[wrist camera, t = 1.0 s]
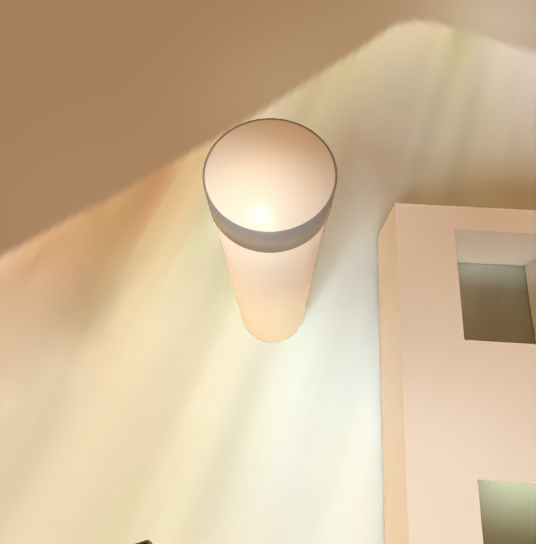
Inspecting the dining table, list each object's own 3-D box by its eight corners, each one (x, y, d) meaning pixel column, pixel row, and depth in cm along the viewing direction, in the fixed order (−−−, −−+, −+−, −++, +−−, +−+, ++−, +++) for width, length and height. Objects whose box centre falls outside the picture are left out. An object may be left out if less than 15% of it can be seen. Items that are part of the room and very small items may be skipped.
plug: (317, 314, 24) (365, 177, 11) (269, 356, 23) (263, 260, 11) (275, 269, 25) (275, 97, 12) (227, 308, 24) (175, 168, 12)
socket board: (650, 660, 18) (778, 736, 14) (387, 637, 19) (424, 703, 14) (570, 247, 25) (638, 204, 20) (377, 237, 26) (400, 192, 21)
